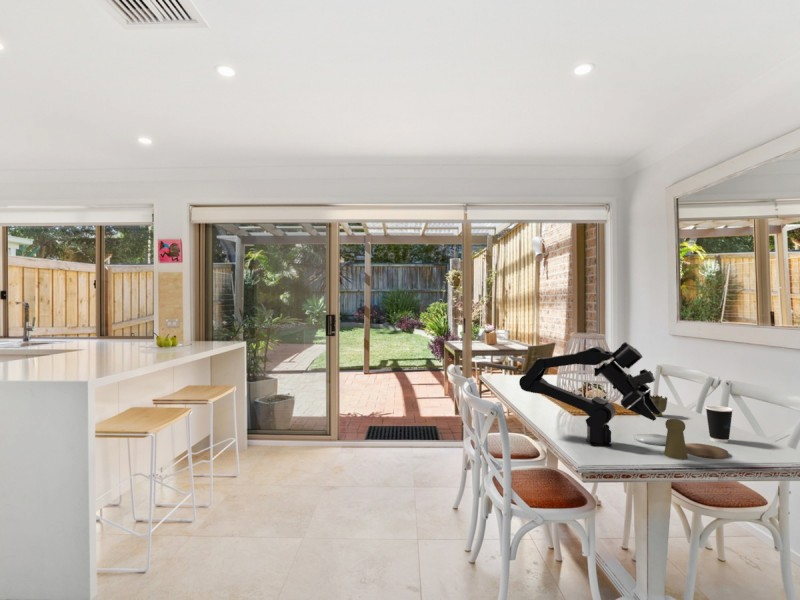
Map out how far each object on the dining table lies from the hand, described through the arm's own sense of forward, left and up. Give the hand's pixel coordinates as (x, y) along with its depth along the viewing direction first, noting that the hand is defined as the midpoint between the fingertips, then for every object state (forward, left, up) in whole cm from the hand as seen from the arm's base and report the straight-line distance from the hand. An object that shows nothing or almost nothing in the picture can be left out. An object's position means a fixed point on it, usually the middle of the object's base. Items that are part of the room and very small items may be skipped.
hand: (657, 416), depth 141 cm
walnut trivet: (+15, +3, -11) cm, 19 cm away
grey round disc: (+5, +15, -11) cm, 19 cm away
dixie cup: (+27, +17, -11) cm, 34 cm away
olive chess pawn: (+4, -2, -11) cm, 12 cm away
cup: (+22, +52, -11) cm, 57 cm away
